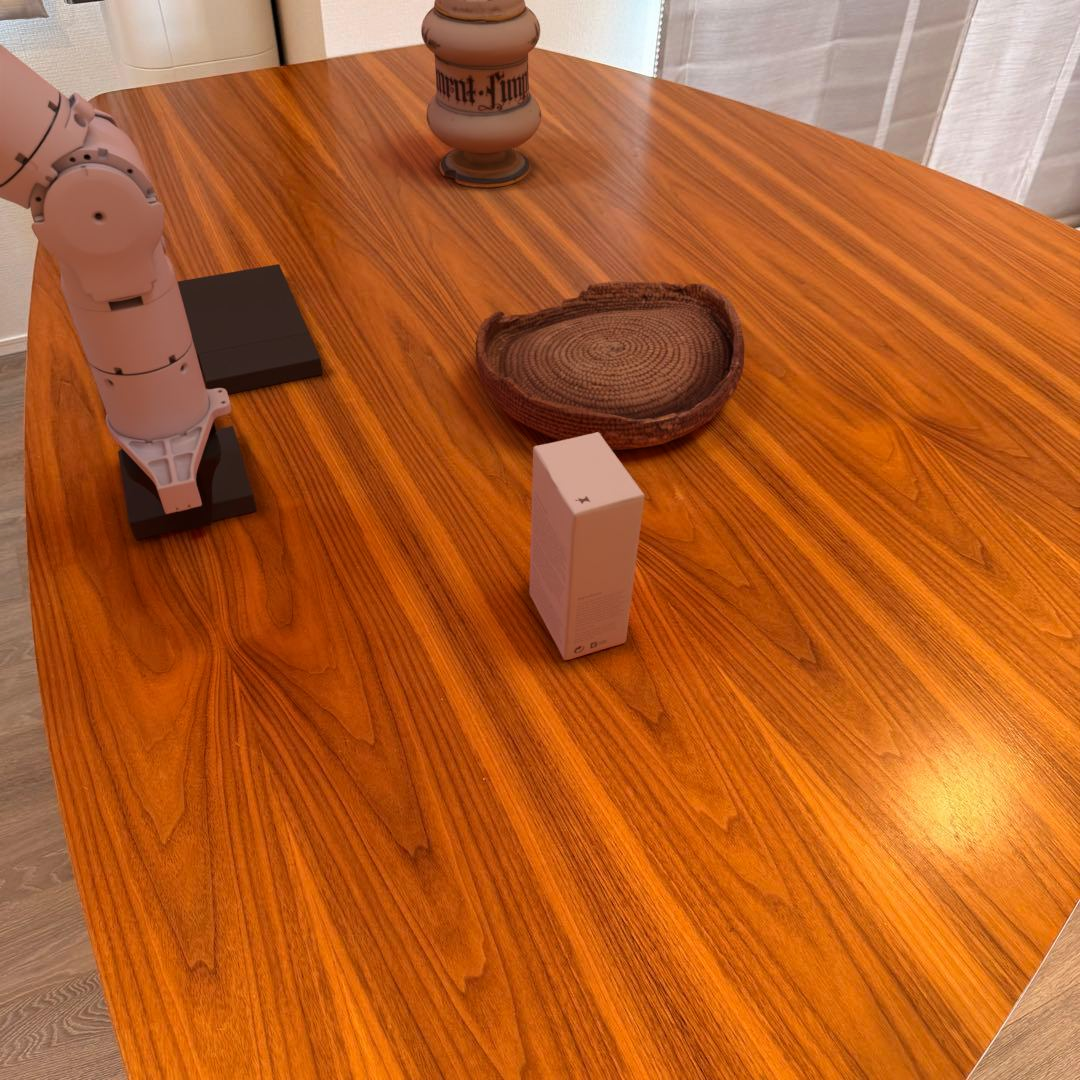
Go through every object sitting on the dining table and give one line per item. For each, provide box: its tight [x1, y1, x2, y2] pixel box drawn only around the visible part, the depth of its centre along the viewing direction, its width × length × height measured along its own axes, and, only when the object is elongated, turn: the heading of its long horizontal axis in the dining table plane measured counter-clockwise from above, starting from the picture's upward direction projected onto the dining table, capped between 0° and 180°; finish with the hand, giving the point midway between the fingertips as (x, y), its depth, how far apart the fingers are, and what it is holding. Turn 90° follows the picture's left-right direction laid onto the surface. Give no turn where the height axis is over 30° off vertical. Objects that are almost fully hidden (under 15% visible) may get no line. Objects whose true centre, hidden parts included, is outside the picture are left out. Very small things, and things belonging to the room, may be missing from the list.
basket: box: [475, 280, 745, 451], centre depth 77 cm, size 22×20×5 cm
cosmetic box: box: [529, 432, 645, 661], centre depth 56 cm, size 6×4×12 cm
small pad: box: [117, 425, 258, 541], centre depth 69 cm, size 8×12×2 cm
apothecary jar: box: [420, 0, 542, 189], centre depth 100 cm, size 12×12×18 cm
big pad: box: [177, 263, 324, 395], centre depth 80 cm, size 16×16×2 cm
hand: (195, 522), depth 64 cm, fingers closed
